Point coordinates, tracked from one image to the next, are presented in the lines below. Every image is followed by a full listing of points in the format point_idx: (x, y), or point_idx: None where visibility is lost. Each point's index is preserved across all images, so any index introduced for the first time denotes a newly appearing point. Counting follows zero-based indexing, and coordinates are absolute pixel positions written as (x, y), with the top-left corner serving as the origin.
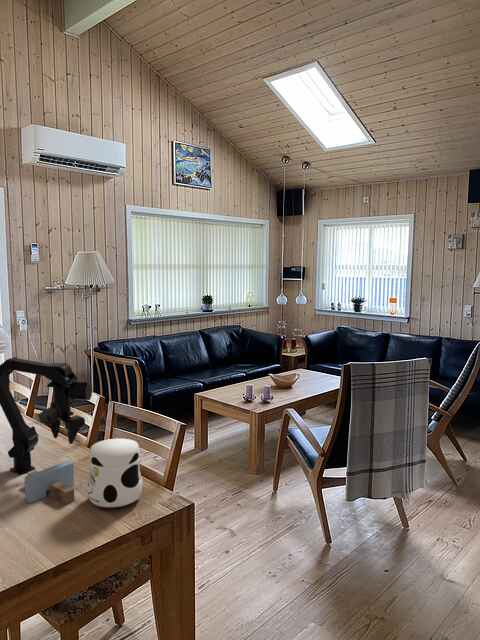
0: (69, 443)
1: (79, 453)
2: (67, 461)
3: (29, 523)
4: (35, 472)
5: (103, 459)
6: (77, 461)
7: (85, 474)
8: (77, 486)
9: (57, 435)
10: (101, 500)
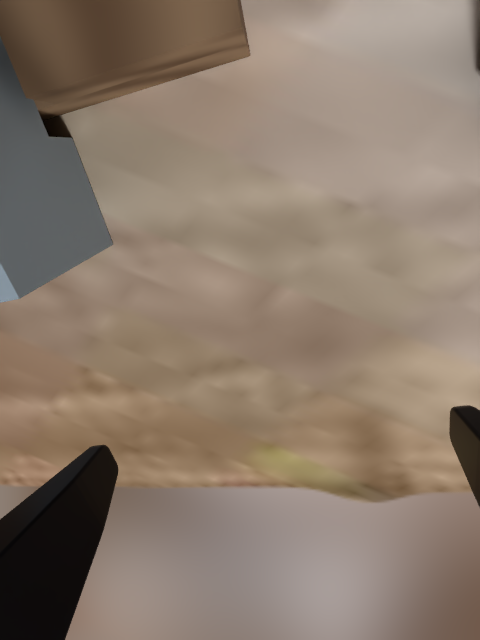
0: (94, 447)
1: None
2: (3, 288)
3: None
4: (206, 10)
5: None
6: (369, 396)
7: (172, 355)
8: None
9: (465, 467)
10: None
